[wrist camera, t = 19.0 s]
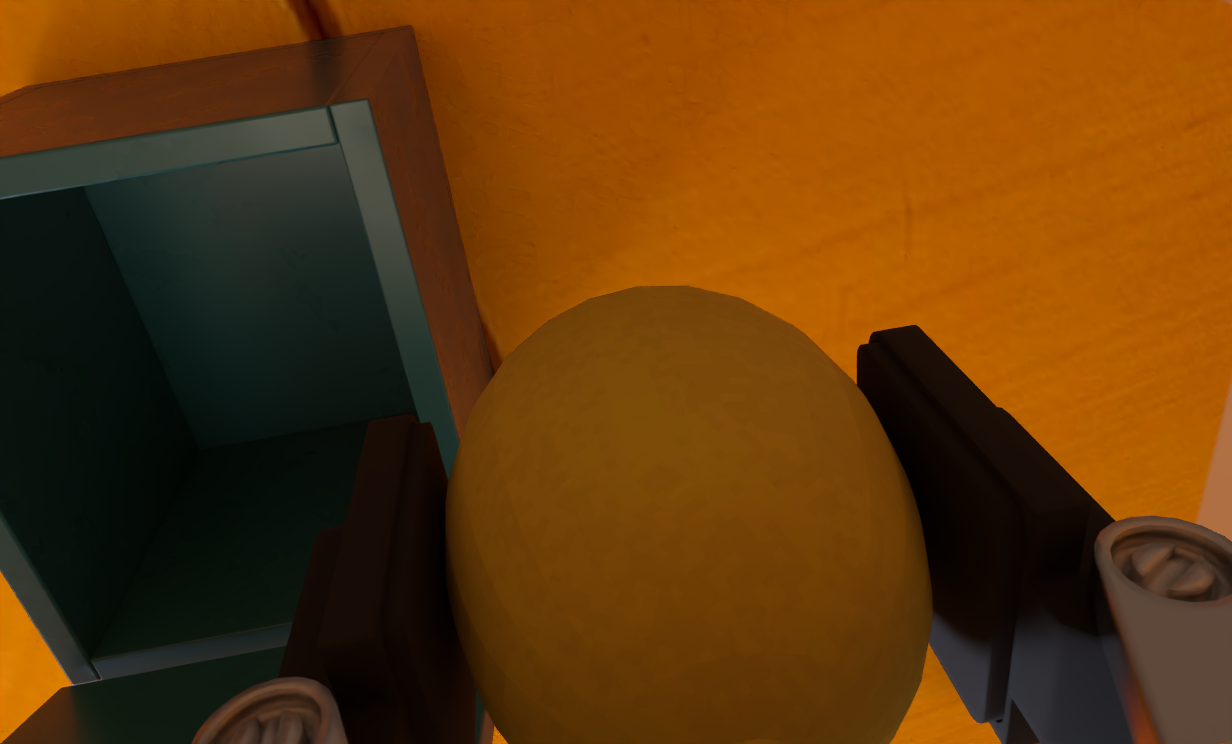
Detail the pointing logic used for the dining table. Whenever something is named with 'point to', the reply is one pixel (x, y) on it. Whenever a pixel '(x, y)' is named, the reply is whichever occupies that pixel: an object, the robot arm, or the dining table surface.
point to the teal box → (215, 335)
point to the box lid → (161, 704)
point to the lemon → (684, 535)
